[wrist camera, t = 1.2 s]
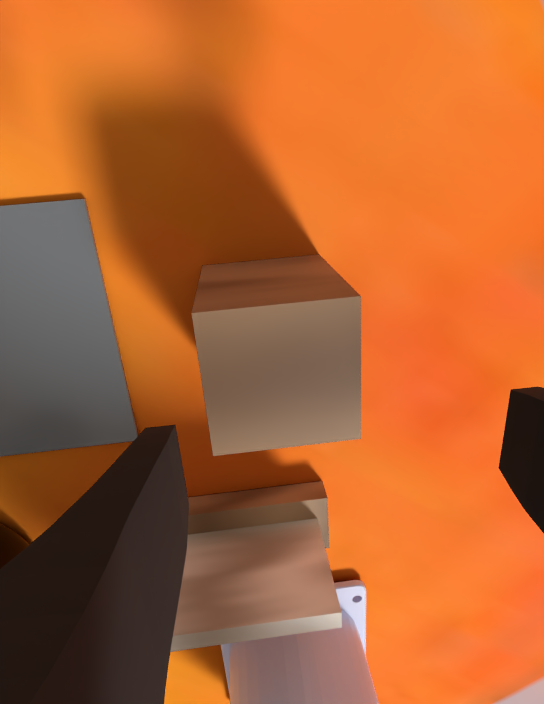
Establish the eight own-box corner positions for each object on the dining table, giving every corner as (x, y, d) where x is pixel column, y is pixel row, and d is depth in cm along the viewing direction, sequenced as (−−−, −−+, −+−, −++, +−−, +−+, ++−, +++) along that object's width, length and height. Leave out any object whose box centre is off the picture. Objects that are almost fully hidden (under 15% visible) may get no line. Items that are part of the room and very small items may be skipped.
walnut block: (322, 360, 19) (360, 438, 14) (216, 371, 19) (213, 455, 14) (319, 254, 18) (360, 296, 12) (202, 265, 17) (191, 313, 12)
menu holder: (322, 480, 22) (354, 589, 16) (324, 529, 23) (355, 645, 17) (109, 507, 21) (68, 628, 16) (122, 555, 22) (88, 683, 17)
